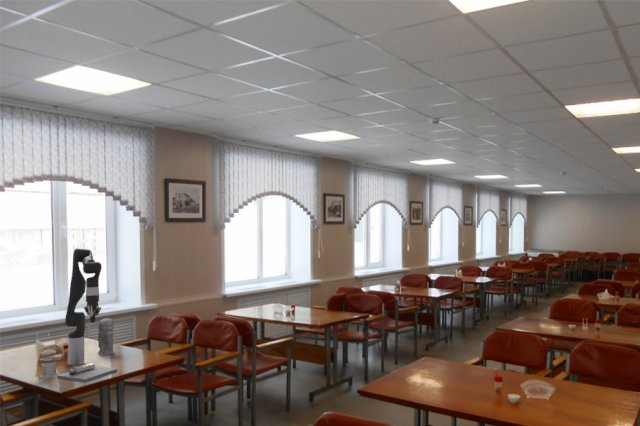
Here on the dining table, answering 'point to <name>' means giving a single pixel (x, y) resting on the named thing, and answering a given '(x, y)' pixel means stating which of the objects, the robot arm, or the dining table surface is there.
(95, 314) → the robot arm
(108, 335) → the figurine
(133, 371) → the dining table surface
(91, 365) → the bar
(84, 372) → the jamb plate
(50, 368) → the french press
